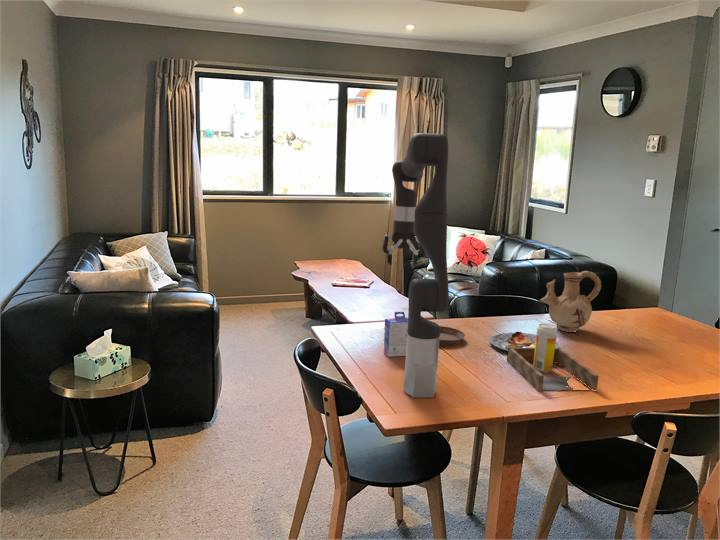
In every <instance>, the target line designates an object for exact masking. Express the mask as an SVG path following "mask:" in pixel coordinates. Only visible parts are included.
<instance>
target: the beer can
mask: <svg viewBox="0 0 720 540" xmlns="http://www.w3.org/2000/svg"><path fill="white" fill-rule="evenodd" d="M557 331H558V328H557V325H554V324H551V323H540V324H538V326H537V328H536V334H535V335H536V343H535V352H534V361H533V363H532V366H533V367H534V368H536V369H537V370H538V371H539V372H540V373H542V372H543V373H545V374H546V373H547V372H548V373H550V372H551V371H552V370H553V365H554V363H553V359H554V351H555V342H556V341H557V334H558V333H557ZM556 343H557V342H556Z"/></svg>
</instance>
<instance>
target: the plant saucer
mask: <svg viewBox="0 0 720 540" xmlns="http://www.w3.org/2000/svg"><path fill="white" fill-rule="evenodd" d="M439 326H440V341H439V346H454V345H455V346H456V345H457V344H460V343H461V342H462V341H463V340H464V338H465V337H466V334H465V333H464V331H461V330H459V329H457V328H453V327H449V326H442V325H439Z"/></svg>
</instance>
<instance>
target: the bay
mask: <svg viewBox="0 0 720 540" xmlns="http://www.w3.org/2000/svg"><path fill="white" fill-rule="evenodd" d="M534 352H535V348H511V347H508V351H507V355H506V357H507V358H506V362H507V364H509V365H510V366H511V367H512V368H513V369H514V370H515V371H516V373H518V374H519V375H520V376H521V377H522V378H523V379H524V380H526V382H528V384H530V386H532V387H533V388H534V389H535V390H536V392H538V393H541V392H551V391H552V392H556V391H555V390H573V388H571V387H569V385H568V383H567V381H568V380H569V379H570V378H571V377H572V376H573V375H574V376H575V377H576V378H578V379H579V380H581V381H582V382H583V383H585V384H586V385H587V386H589V387H590V388H591V389H593V390H597V391H598V383H599V378H600V377H599V375H598V374H597V373H596V372H594V371H593V370H592V369H590V368H588V367H587V366H586V365H585V364H583V363H582V362H580V361H579V360H578V359H577V358H575V357H573V356H572V355H571V354H569V353H568V352H567V351H565V350H564V349H563V348H561V347H560V348H555V351H554V359H553V362H557V363H558V364H557V363H556V364H557V365H559V364H560V365H561V366H562V367H563V368H562V367H561V366H560V365H559V366H560V367H561V368H562V369H564V368H565V369H566V370H567V371H568V372H567V371H566V370H565V369H564V370H565V371H566V372H567V373H569V372H570V373H571V374H572V375H571V374H570V373H569V374H570V375H571V376H544V375H543V374H542V372H539V371H538V370H537V369H536V368H534V367H533V361H534ZM574 376H573V377H574ZM567 377H568V378H567ZM566 378H567V379H566ZM578 379H577V380H578ZM583 383H582V384H583ZM566 386H568V387H566Z"/></svg>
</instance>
